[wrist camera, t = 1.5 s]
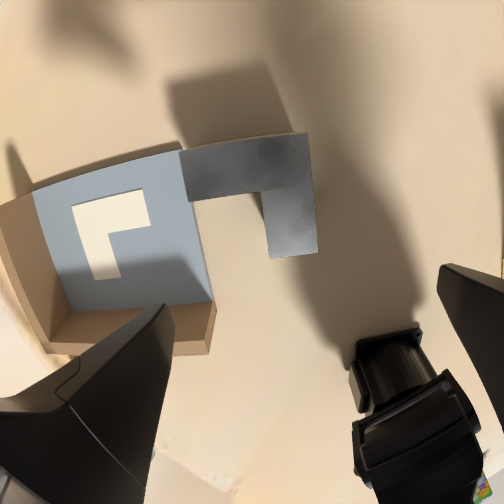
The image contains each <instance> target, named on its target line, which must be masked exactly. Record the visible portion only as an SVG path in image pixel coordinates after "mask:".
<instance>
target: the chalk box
mask: <svg viewBox="0 0 504 504" xmlns="http://www.w3.org/2000/svg"><path fill="white" fill-rule="evenodd" d="M491 495H492V491H491V488H490V486H489V484H488V481H487V479H486V477H485V475H484V472H483V470H482V475H481V477H480V478H479V479H478V483H477V487H476V490H475V494H474V497H473V501H474V504H480V503H481V502H483V501H485V500H486V499H488V498H489V497H490V496H491Z"/></svg>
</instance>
